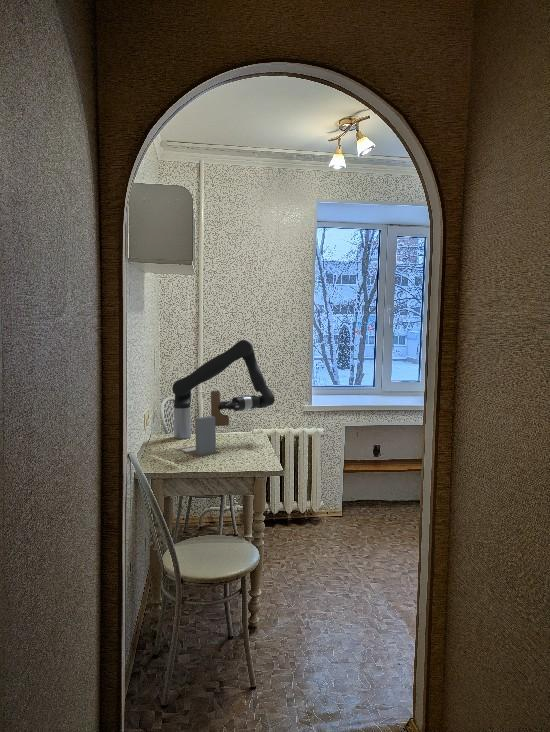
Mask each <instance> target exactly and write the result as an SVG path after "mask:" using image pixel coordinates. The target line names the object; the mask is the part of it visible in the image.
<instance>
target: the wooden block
mask: <svg viewBox="0 0 550 732" xmlns="http://www.w3.org/2000/svg"><path fill="white" fill-rule="evenodd" d="M220 402H221V392H220V390H212V391H210V413H211V414H210V416H213V417H215V427H228V426H229V425H230V417H229V415H228V414H227V415H226V414H223V413H222V412H221V410H219V408H218V406H219V405H220Z"/></svg>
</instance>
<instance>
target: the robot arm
mask: <svg viewBox="0 0 550 732" xmlns="http://www.w3.org/2000/svg"><path fill="white" fill-rule="evenodd" d="M240 359H243V361H244V363H245V365H246V367H247V371H248V374H249V378H250V381H251V383H252V386H253V389H254V390H255V392H257V393H258V392H259V393H260V394H261V395H258V396H257V395H244V396H243V395H242V396H234V397H232V399H231V400H227V401H226V400H221V401H220V405H219V406H218V408H219V410H220V411H222V410H228V411H229V410H233V411H235V412H241V411H247V410H250V409H264V408H267V407H269V406H272V405H274V403H275V395H274V393H273V392H272V390H271V388H270V387H269V386H268V385H267V383H266V381H265V378H264V375H263V373H262V371H261V369H260V367H259V364H258V362H257V361H258V360H257V359H256V354H255V350H254V344H253V343H252V342H251V341H249V340H247V339H242V340H239V341H237V342H235V344H234V345H233V346H231V347H230V348H229V349H227V350H225V351H224V352H222V353H220V354H218V355H217V356H215V357H213V358H211V359H210V360H207V361H206V362H205V363H203V364H202V365H200V366H199V367H197V368H196V370H194V371H193V372H192V373H190V374H189V375H187V376H184V377H183V378H179V379H178V380H176V381H175V382H174V383H173V384H172V388H171V389H172V392H173V394H174V401H173V437H174V438H175V439H179V440H180V439H181V440H183V439H190V438H191V437H192V426H191V425H192V424H191V423H192V422H191V403H192V402H191V401H192V390H193V389H194V388H196V387H197V386H198V385H200V384H202V383H205V382H208V381H209V380H211V379H213V378H215V377H216V376H217V375H219V374H221V373H223V372H224V371H225V370H226V369H228V367H230V365H232V364H233V363H235V362H236V361H239V360H240Z"/></svg>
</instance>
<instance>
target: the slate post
mask: <svg viewBox="0 0 550 732" xmlns="http://www.w3.org/2000/svg"><path fill="white" fill-rule="evenodd" d="M194 421H195V422H194V423H195V425H194V427H195V428H194V430H195V446H196V454H197V455H199V456H202V455H207V454H213V453H216V451H217V445H216V444H217V443H216V439H217V438H216V436H217V435H216V433H217V432H216V426H215V417H213V416H211V415H210V416H209V415H208V416H201V417H195V418H194Z"/></svg>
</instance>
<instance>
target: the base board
mask: <svg viewBox="0 0 550 732" xmlns="http://www.w3.org/2000/svg"><path fill="white" fill-rule="evenodd" d="M175 450H177V451H179V452H181V453H185V454H188V455H189V456H190V455H191V456H193V457H196V458H202V457H207V456H208V457H209V456H212V455H219V454H220V455H221V454H222V452H221V451H218V450H216V453H213V454H207V455H202V456H199V455H197V454H196V445H192V446H187V447H182V448H181V447H179V448H175Z"/></svg>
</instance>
